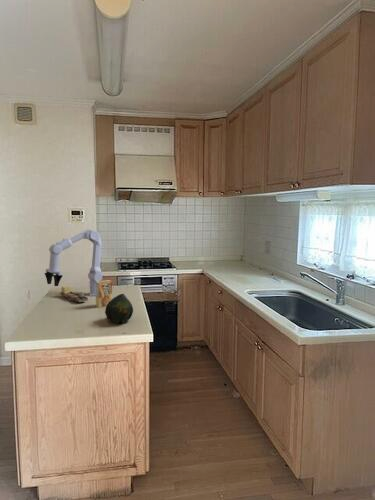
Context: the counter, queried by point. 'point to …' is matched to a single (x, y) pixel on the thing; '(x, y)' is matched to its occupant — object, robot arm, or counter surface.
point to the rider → (66, 289)
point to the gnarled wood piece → (75, 296)
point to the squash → (119, 309)
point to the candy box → (103, 293)
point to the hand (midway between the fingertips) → (52, 284)
